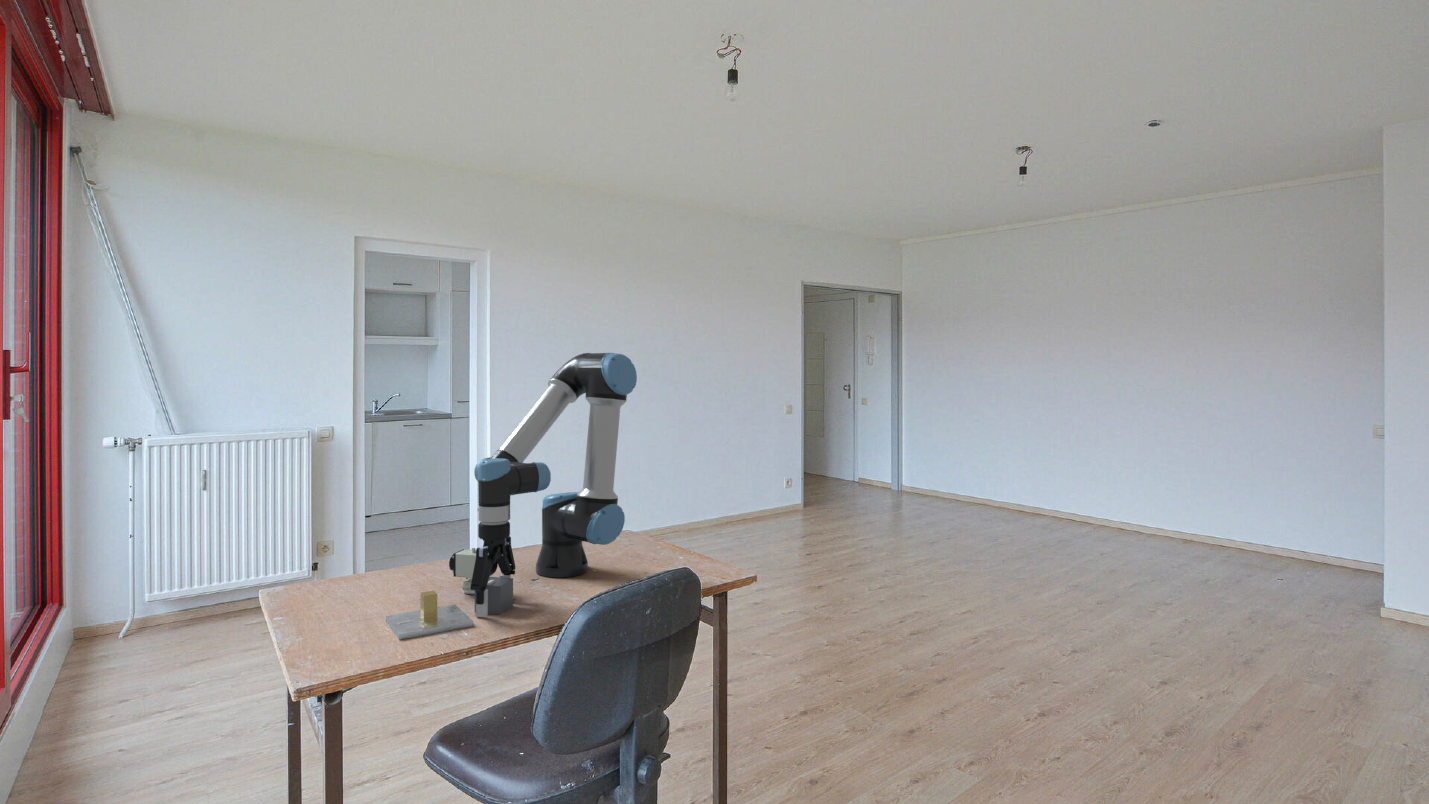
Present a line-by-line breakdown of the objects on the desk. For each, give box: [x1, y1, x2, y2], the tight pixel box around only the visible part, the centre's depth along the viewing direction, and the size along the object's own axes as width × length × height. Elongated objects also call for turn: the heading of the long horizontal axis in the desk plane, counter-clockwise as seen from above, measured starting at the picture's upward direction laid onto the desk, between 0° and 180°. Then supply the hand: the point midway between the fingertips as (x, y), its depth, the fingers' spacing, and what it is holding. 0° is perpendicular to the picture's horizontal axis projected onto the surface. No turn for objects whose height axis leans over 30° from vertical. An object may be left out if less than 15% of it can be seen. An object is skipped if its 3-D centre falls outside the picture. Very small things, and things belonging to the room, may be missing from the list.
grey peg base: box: [385, 590, 474, 641], centre depth 170 cm, size 16×14×7 cm
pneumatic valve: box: [448, 547, 499, 596], centre depth 193 cm, size 6×12×12 cm, turn 78°
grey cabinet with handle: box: [474, 576, 514, 615], centre depth 181 cm, size 7×7×8 cm
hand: (493, 608), depth 181 cm, fingers open, 12 cm apart
